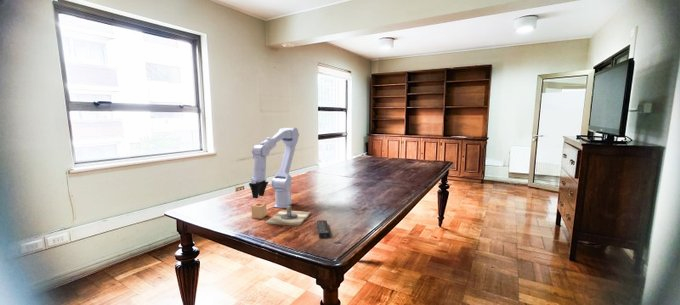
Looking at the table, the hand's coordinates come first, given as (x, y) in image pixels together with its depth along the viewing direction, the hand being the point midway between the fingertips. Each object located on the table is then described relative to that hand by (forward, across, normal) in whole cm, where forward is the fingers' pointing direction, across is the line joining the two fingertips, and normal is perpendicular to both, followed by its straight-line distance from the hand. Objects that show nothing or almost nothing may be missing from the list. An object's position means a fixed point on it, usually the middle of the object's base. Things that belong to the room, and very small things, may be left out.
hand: (258, 196), depth 140 cm
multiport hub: (+11, +14, +35) cm, 39 cm away
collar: (+10, -2, 0) cm, 10 cm away
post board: (+9, 0, +16) cm, 19 cm away
